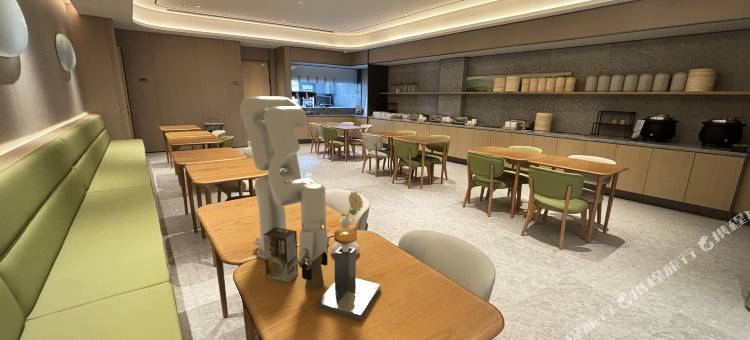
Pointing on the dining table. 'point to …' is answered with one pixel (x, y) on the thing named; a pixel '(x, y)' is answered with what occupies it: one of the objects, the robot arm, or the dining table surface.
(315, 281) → the cork
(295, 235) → the coffee box
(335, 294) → the press stand
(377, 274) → the dining table surface
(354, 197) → the flower in vase
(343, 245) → the handle
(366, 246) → the dining table surface
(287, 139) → the robot arm
